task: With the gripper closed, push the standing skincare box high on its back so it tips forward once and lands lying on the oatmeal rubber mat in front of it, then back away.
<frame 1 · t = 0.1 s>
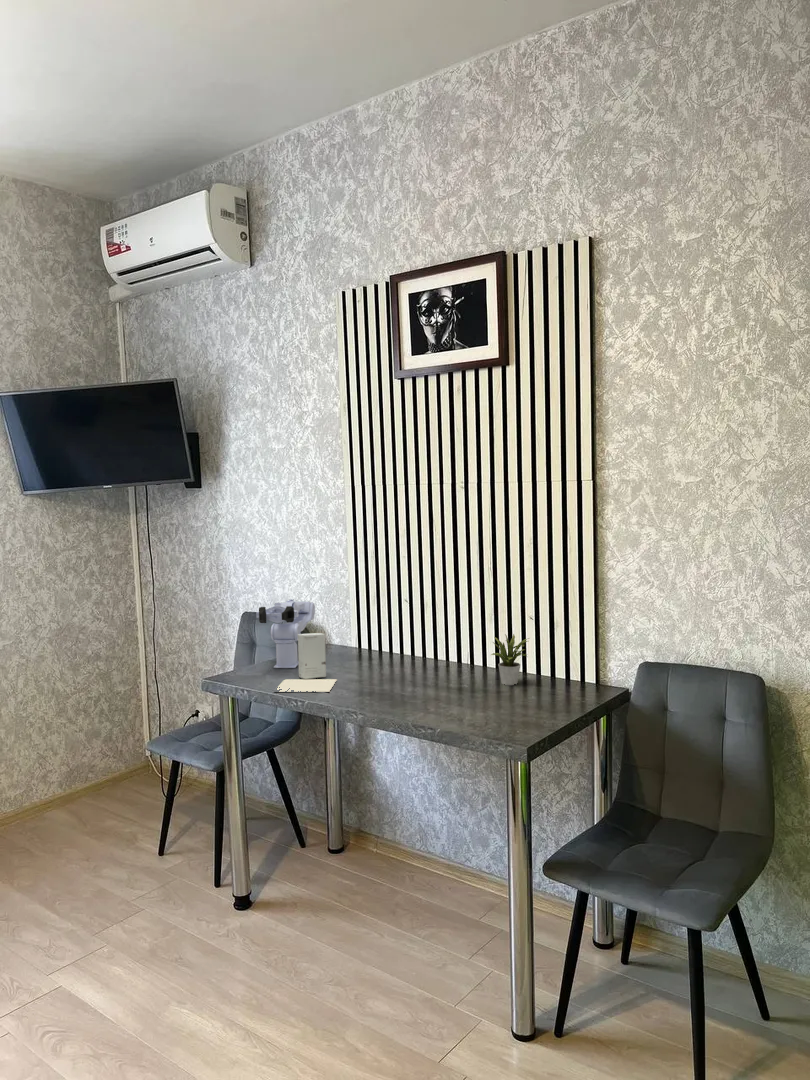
hand: (271, 616, 269), 22 cm above the table, tool horizontal, fingers open, 7 cm apart
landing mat: (306, 686, 260), on the table
skincare box: (312, 677, 272), on the table, touching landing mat
house plant: (511, 684, 258), on the table
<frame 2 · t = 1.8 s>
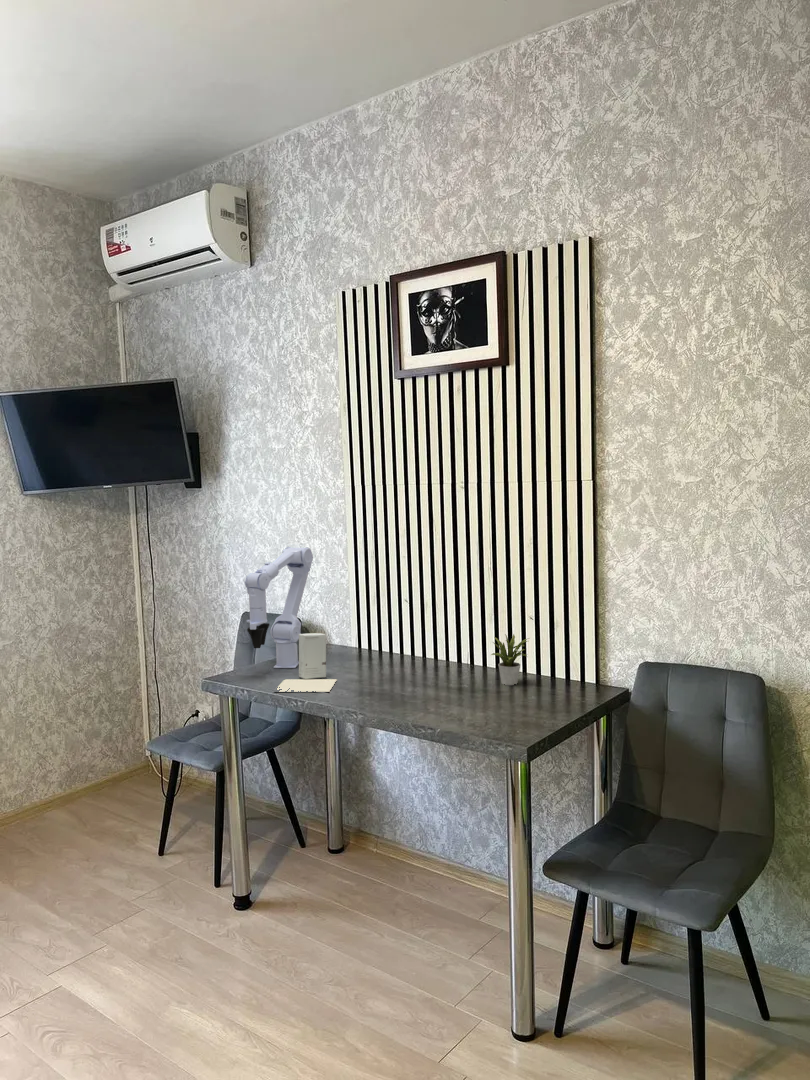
hand: (259, 646, 275), 10 cm above the table, tool pointing down, fingers open, 5 cm apart
nothing on the table moved.
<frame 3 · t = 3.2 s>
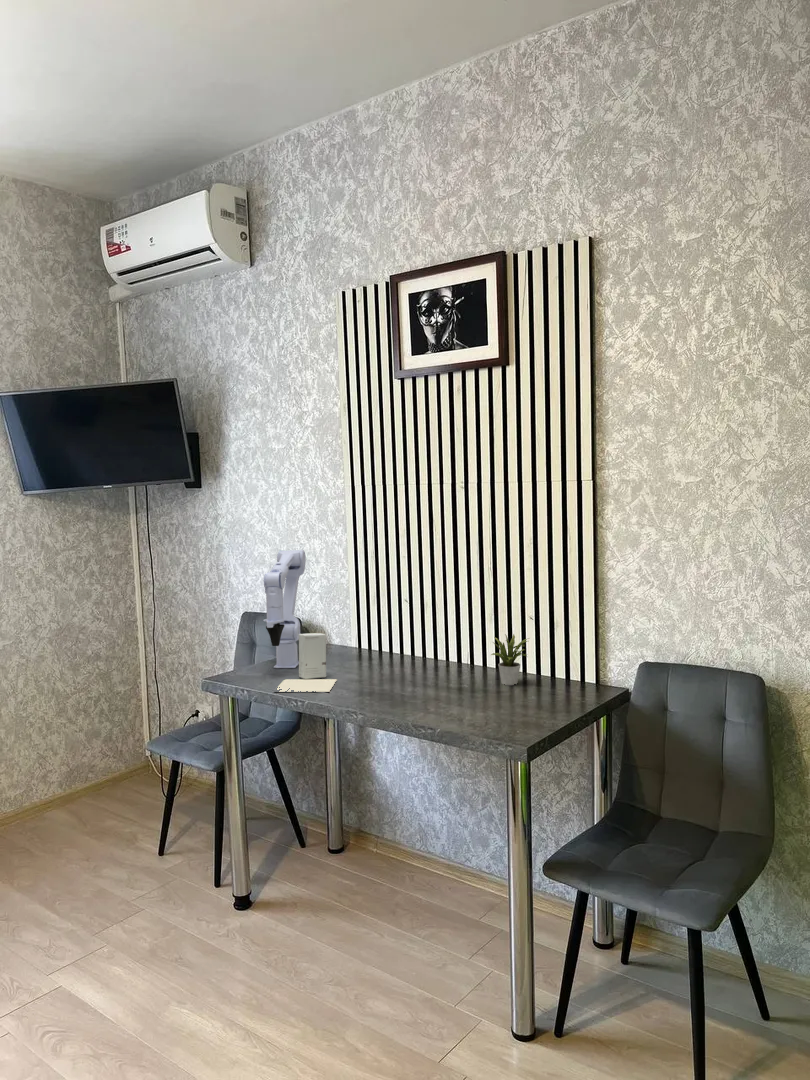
hand: (275, 645, 276), 10 cm above the table, tool pointing down, fingers closed
nothing on the table moved.
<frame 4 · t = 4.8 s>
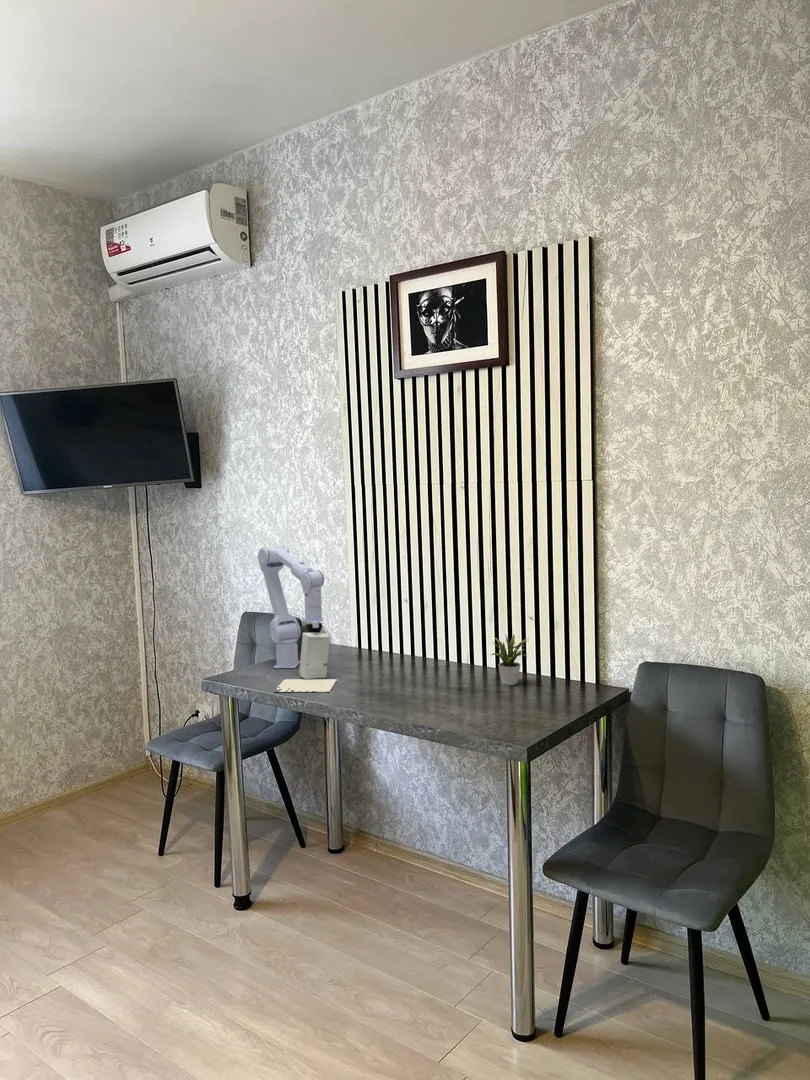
hand: (314, 644, 276), 10 cm above the table, tool pointing down, fingers closed
skincare box: (312, 676, 272), on the table, touching gripper, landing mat
everything else where it was.
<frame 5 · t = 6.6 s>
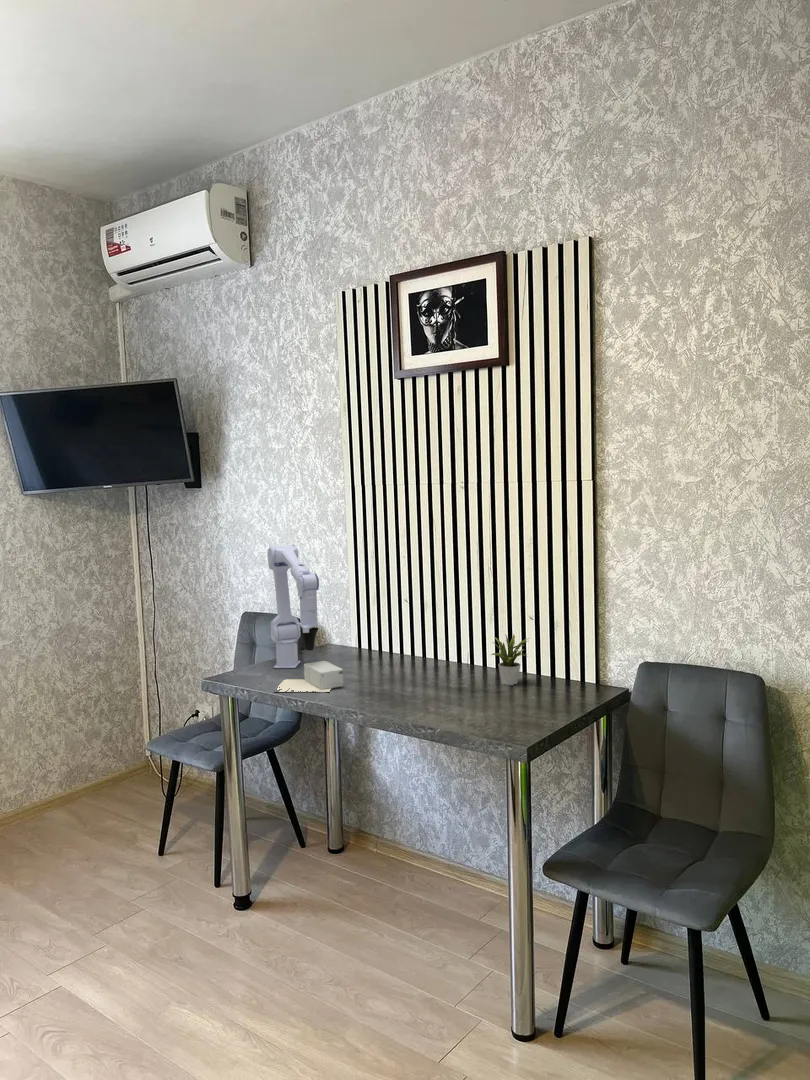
hand: (310, 649, 268), 10 cm above the table, tool pointing down, fingers closed
skincare box: (315, 669, 269), point 3 cm above the table, touching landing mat
everything else where it was.
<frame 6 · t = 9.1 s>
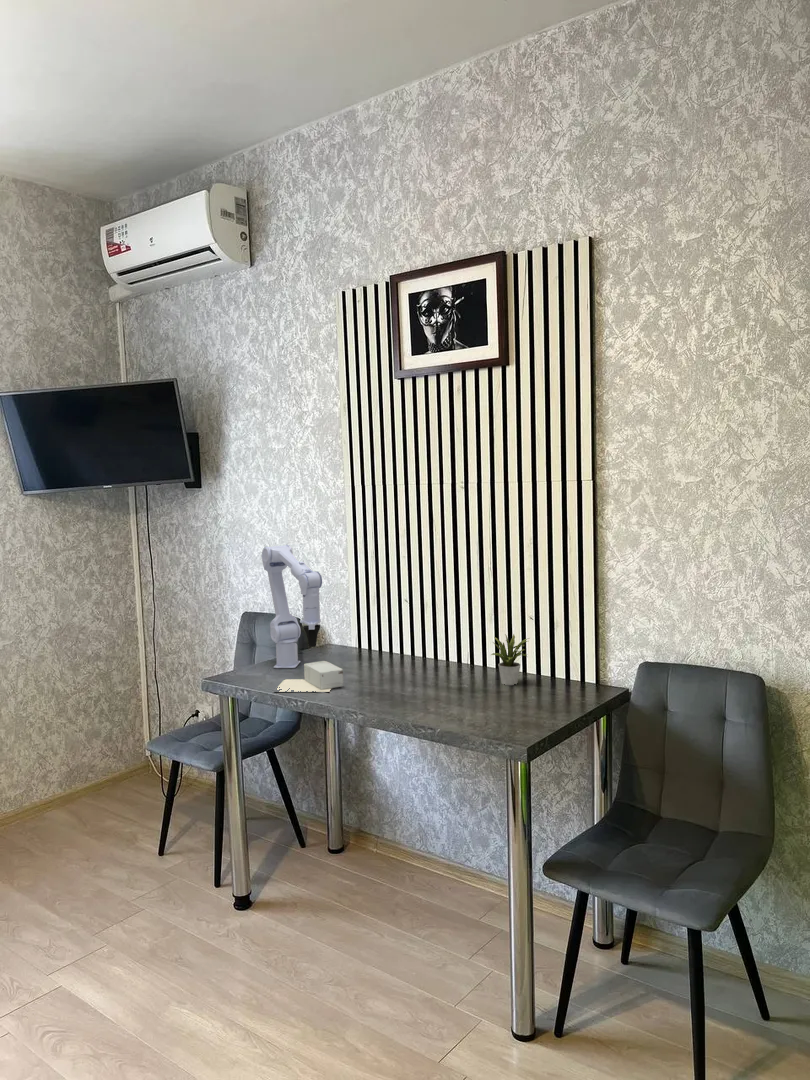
hand: (312, 646, 273), 10 cm above the table, tool pointing down, fingers closed
nothing on the table moved.
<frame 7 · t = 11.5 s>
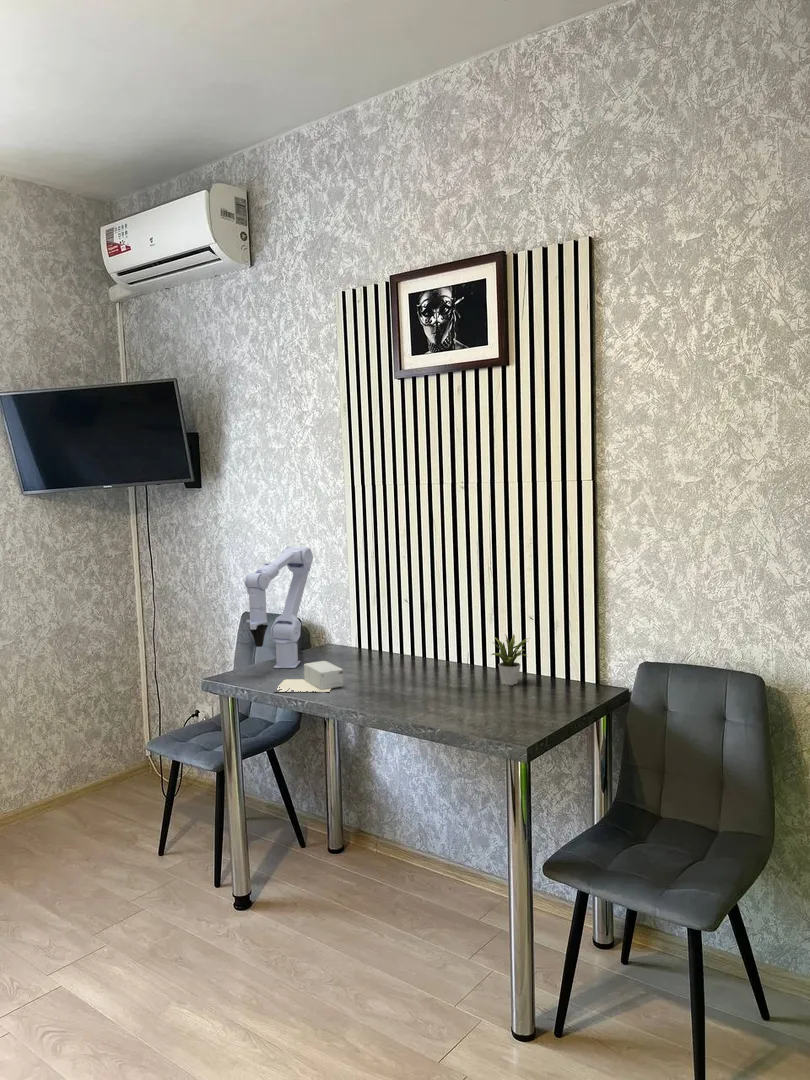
hand: (259, 646, 275), 10 cm above the table, tool pointing down, fingers closed
nothing on the table moved.
at the end: skincare box tilted 91°; skincare box touching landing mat; skincare box inside the target area (6.6 cm from its centre), point 3.5 cm above the table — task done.
